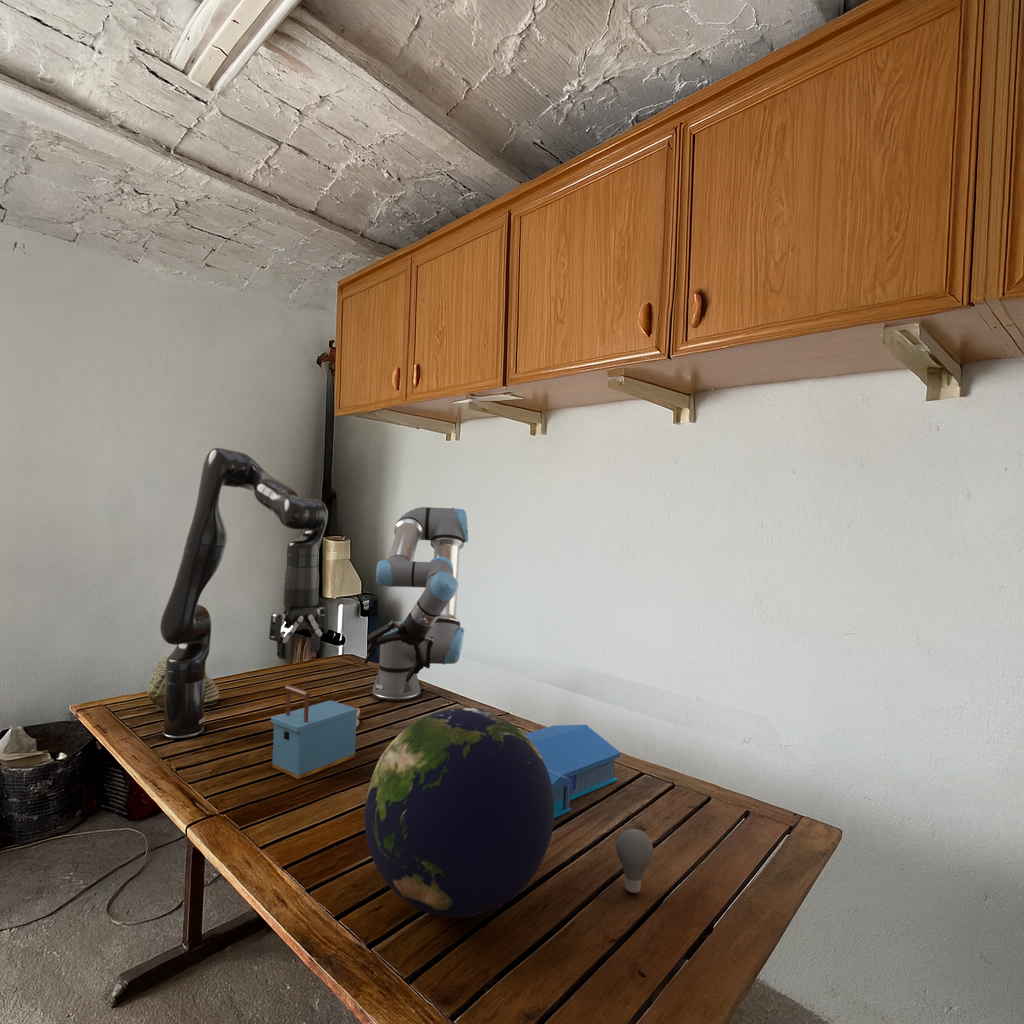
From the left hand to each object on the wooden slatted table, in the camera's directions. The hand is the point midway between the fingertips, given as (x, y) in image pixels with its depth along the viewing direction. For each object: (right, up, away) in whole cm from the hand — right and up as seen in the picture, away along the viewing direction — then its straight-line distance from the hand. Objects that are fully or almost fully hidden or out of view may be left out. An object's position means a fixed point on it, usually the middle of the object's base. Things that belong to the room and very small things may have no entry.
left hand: (298, 655), depth 146 cm
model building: (+53, -29, -5) cm, 61 cm away
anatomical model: (0, -26, +29) cm, 39 cm away
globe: (+40, -29, -45) cm, 67 cm away
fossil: (-47, -24, +39) cm, 66 cm away
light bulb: (+69, -30, -40) cm, 86 cm away
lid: (+2, -16, +4) cm, 17 cm away
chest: (+2, -27, +5) cm, 27 cm away
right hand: (+12, -14, +42) cm, 46 cm away
